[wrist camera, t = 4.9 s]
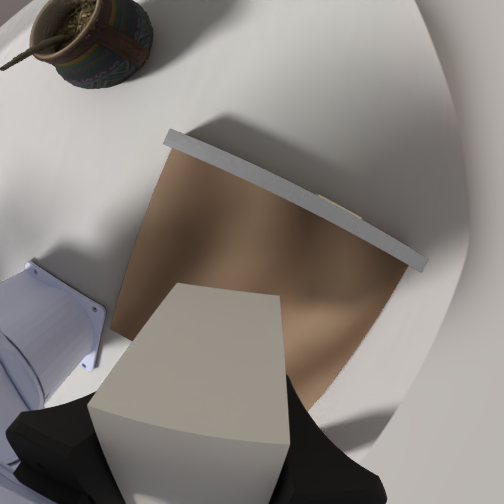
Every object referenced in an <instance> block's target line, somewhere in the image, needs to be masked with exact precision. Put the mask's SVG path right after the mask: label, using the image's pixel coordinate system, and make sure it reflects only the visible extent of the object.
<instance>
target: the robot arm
mask: <svg viewBox="0 0 504 504" xmlns="http://www.w3.org/2000/svg"><path fill="white" fill-rule="evenodd" d="M36 270H37V272H36ZM94 307H95V308H96V309H97V310H95V308H94ZM105 315H106V310H105V308H104V307H103V306H101V305H100V304H98V303H96V302H94V301H93V300H91V299H89V298H88V297H86V296H84V295H83V294H81V293H79V292H78V291H76V290H74V289H73V288H71V287H69V286H68V285H66V284H65V283H63V282H62V281H60V280H58V279H57V278H55V277H54V276H52V275H51V274H49V273H48V272H46V271H45V270H43V269H42V268H40V267H39V266H37V265H36V264H34V263H33V262H31V261H28V262H26V264H25V270H24V271H22V272H20V273H18V274H17V275H15V276H13V277H11V278H9V279H7V280H5V281H3V282H1V283H0V504H126V502H125V500H124V498H123V496H122V494H121V492H120V490H119V488H118V486H117V483H116V481H115V479H114V477H113V475H112V472H111V470H110V468H109V465H108V463H107V460H106V458H105V455H104V453H103V450H102V448H101V445H100V442H99V440H98V437H97V434H96V431H95V428H94V425H93V422H92V419H91V416H90V413H89V410H88V407H87V404H88V403H89V401H90V400H91V399H92V397H93V396H94V394H95V393H96V392H94V393H91V394H89V395H87V396H85V397H83V398H80V399H77V400H74V401H71V402H69V403H66V404H62V405H59V406H55V407H50V408H46V409H45V407H44V405H45V403H46V402H47V401H48V400H49V399H50V397H51V396H52V395H53V394H54V393H55V391H56V390H57V389H58V388H59V387H60V386H61V384H62V383H63V382H64V381H65V380H66V378H67V377H68V376H69V375H70V374H71V373H72V371H73V370H74V369H75V368H76V367H77V366H80V367H82V368H83V369H85V370H87V371H88V372H92V371H93V370H94V366H95V361H96V356H97V351H98V346H99V341H100V337H101V332H102V328H103V324H104V320H105ZM286 386H287V401H288V416H289V433H290V446H289V449H288V452H287V455H286V458H285V461H284V464H283V466H282V469H281V472H280V475H279V477H278V480H277V483H276V485H275V488H274V491H273V493H272V496H271V498H270V501H269V504H386V502H387V496H386V492H385V489H384V487H383V484H382V482H381V480H380V478H379V476H377V475H375V474H374V473H372V472H370V471H369V470H367V469H365V468H364V467H362V466H360V465H359V464H357V463H356V462H355V461H353V460H352V459H350V458H349V457H348V456H347V455H346V454H344V453H343V452H342V451H341V450H340V449H339V448H337V447H336V446H335V445H334V444H333V443H332V442H331V441H330V440H329V439H328V438H327V437H326V435H325V434H324V433H323V432H322V431H321V430H320V428H319V427H318V426H317V425H316V423H315V422H314V420H313V419H312V418H311V416H310V415H309V413H308V412H307V410H306V409H305V407H304V405H303V404H302V402H301V400H300V399H299V397H298V395H297V393H296V391H295V389H294V387H293V385H292V383H291V380H290V378H289V376H288V375H287V374H286Z"/></svg>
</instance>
